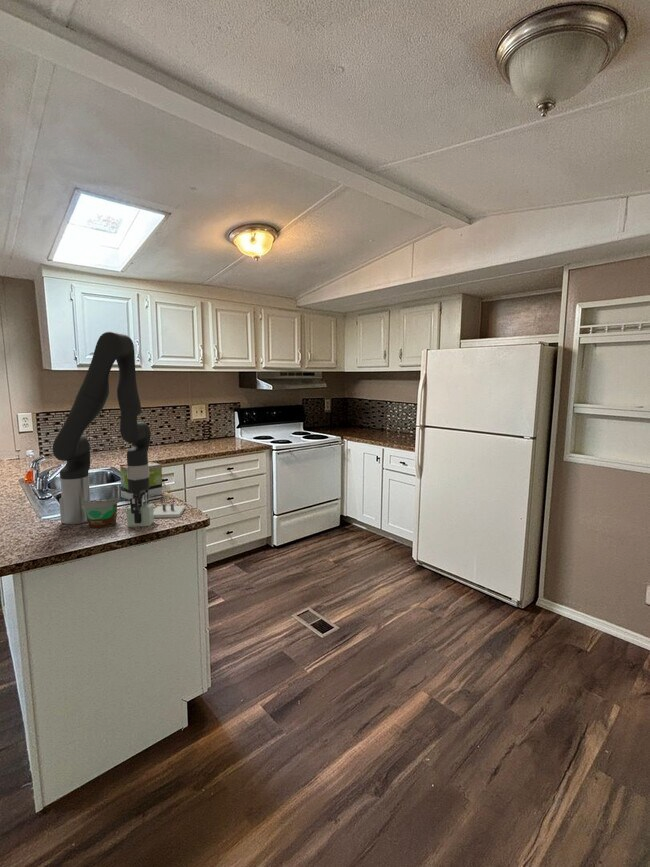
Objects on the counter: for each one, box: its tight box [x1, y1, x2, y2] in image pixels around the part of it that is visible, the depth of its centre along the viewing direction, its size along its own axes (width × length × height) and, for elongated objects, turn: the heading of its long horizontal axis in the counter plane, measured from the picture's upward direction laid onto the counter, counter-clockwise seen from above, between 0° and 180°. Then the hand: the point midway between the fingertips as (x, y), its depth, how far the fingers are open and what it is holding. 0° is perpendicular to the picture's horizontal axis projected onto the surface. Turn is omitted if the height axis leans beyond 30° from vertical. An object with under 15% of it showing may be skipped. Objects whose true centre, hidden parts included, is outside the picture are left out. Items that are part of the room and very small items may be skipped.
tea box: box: [119, 461, 163, 501], centre depth 189 cm, size 15×10×15 cm, turn 143°
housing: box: [125, 503, 155, 528], centre depth 154 cm, size 8×5×7 cm, turn 97°
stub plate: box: [153, 503, 186, 519], centre depth 167 cm, size 11×11×4 cm
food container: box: [82, 496, 120, 529], centre depth 151 cm, size 12×6×10 cm, turn 105°
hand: (140, 519), depth 154 cm, fingers open, 5 cm apart
